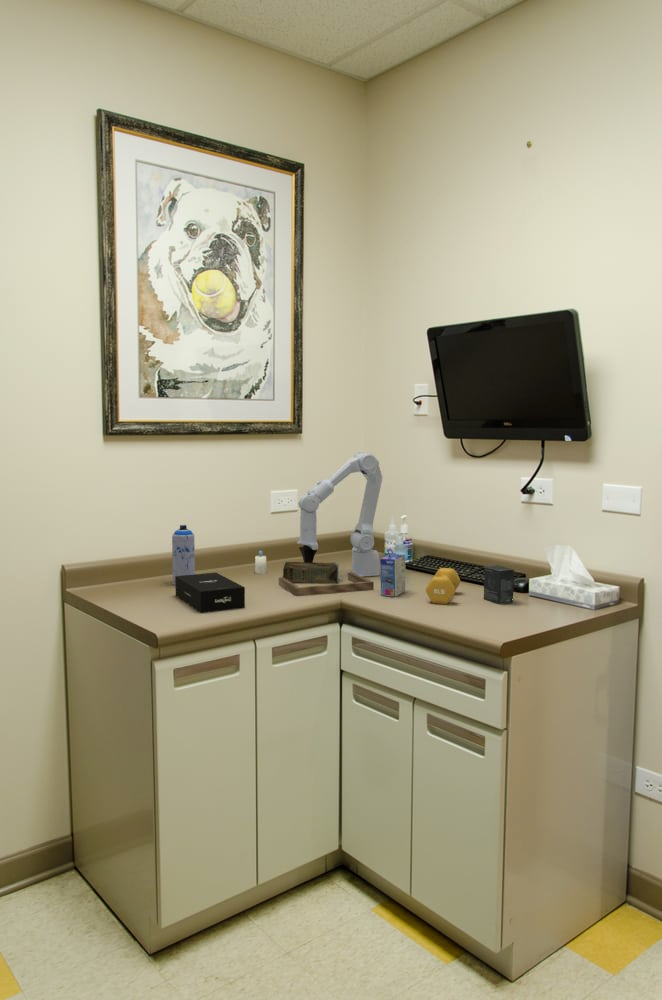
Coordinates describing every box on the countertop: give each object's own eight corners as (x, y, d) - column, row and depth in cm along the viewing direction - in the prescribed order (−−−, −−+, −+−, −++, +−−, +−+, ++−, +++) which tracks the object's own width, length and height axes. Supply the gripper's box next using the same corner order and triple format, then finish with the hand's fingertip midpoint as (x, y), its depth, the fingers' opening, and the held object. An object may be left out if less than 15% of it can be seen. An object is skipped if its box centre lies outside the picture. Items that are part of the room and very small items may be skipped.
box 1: (175, 596, 242) (175, 576, 241) (216, 592, 248) (216, 572, 248) (201, 614, 220) (200, 591, 219) (244, 609, 227) (244, 587, 226)
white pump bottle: (264, 571, 282) (264, 549, 282) (267, 573, 279) (267, 551, 278) (254, 571, 281) (253, 550, 280) (257, 573, 277) (257, 552, 276)
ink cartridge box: (390, 589, 252) (390, 546, 251) (406, 591, 250) (406, 547, 248) (379, 595, 243) (379, 550, 242) (395, 597, 241) (396, 552, 240)
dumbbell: (433, 591, 251) (434, 566, 250) (461, 592, 249) (461, 568, 248) (424, 604, 233) (424, 577, 232) (453, 606, 231) (454, 579, 230)
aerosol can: (193, 580, 265) (193, 523, 263) (197, 584, 258) (196, 526, 256) (170, 581, 263) (170, 524, 261) (173, 586, 255) (172, 527, 253)
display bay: (351, 579, 269) (351, 572, 268) (373, 589, 252) (373, 582, 252) (278, 584, 259) (278, 577, 258) (296, 596, 242) (296, 588, 242)
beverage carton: (338, 584, 261) (338, 565, 260) (282, 583, 262) (282, 564, 261) (338, 579, 269) (338, 561, 268) (284, 579, 269) (284, 560, 269)
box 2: (513, 602, 235) (514, 568, 234) (498, 604, 232) (499, 570, 231) (497, 597, 242) (498, 564, 241) (483, 599, 239) (483, 566, 238)
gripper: (291, 526, 274) (291, 564, 276) (304, 532, 261) (304, 571, 262) (309, 525, 277) (309, 562, 278) (323, 531, 263) (323, 570, 265)
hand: (308, 566), depth 270 cm, fingers closed
